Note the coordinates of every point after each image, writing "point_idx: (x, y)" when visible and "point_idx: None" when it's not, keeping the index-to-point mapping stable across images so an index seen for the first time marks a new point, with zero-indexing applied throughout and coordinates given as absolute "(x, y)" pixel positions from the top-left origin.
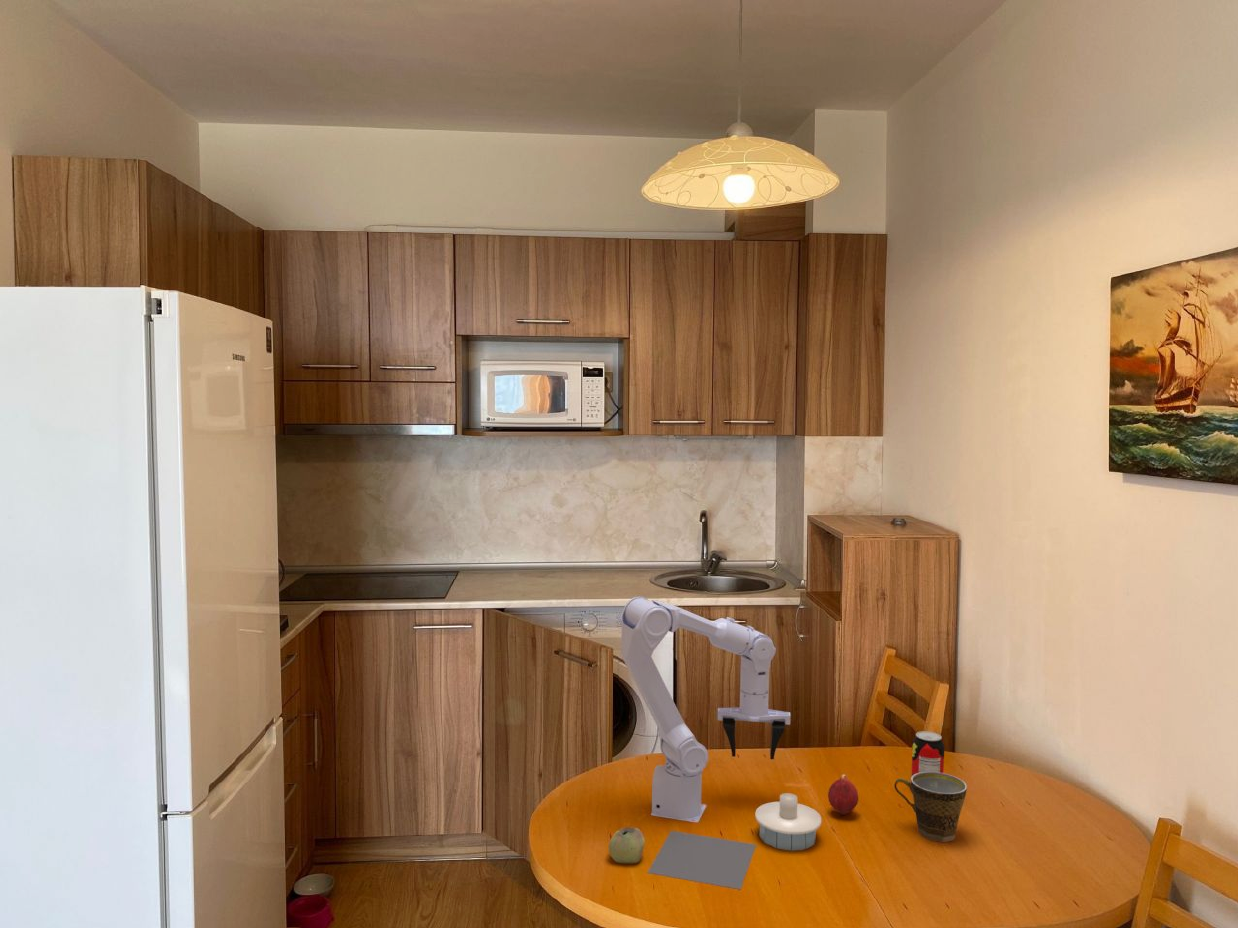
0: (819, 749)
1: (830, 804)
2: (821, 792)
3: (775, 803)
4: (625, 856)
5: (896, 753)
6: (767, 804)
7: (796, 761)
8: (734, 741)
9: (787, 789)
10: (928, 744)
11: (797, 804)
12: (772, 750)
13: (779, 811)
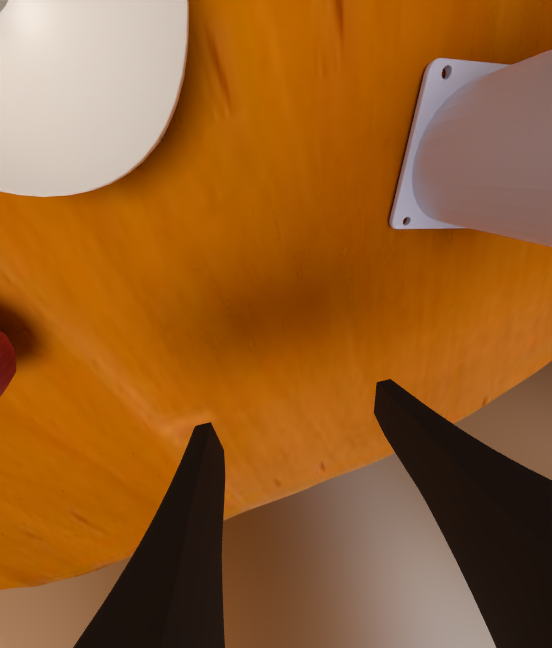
0: None
1: (6, 338)
2: (118, 414)
3: (118, 148)
4: None
5: (65, 563)
6: (152, 115)
7: None
8: (444, 446)
9: (199, 397)
10: None
11: (4, 178)
12: (192, 466)
13: (37, 10)
